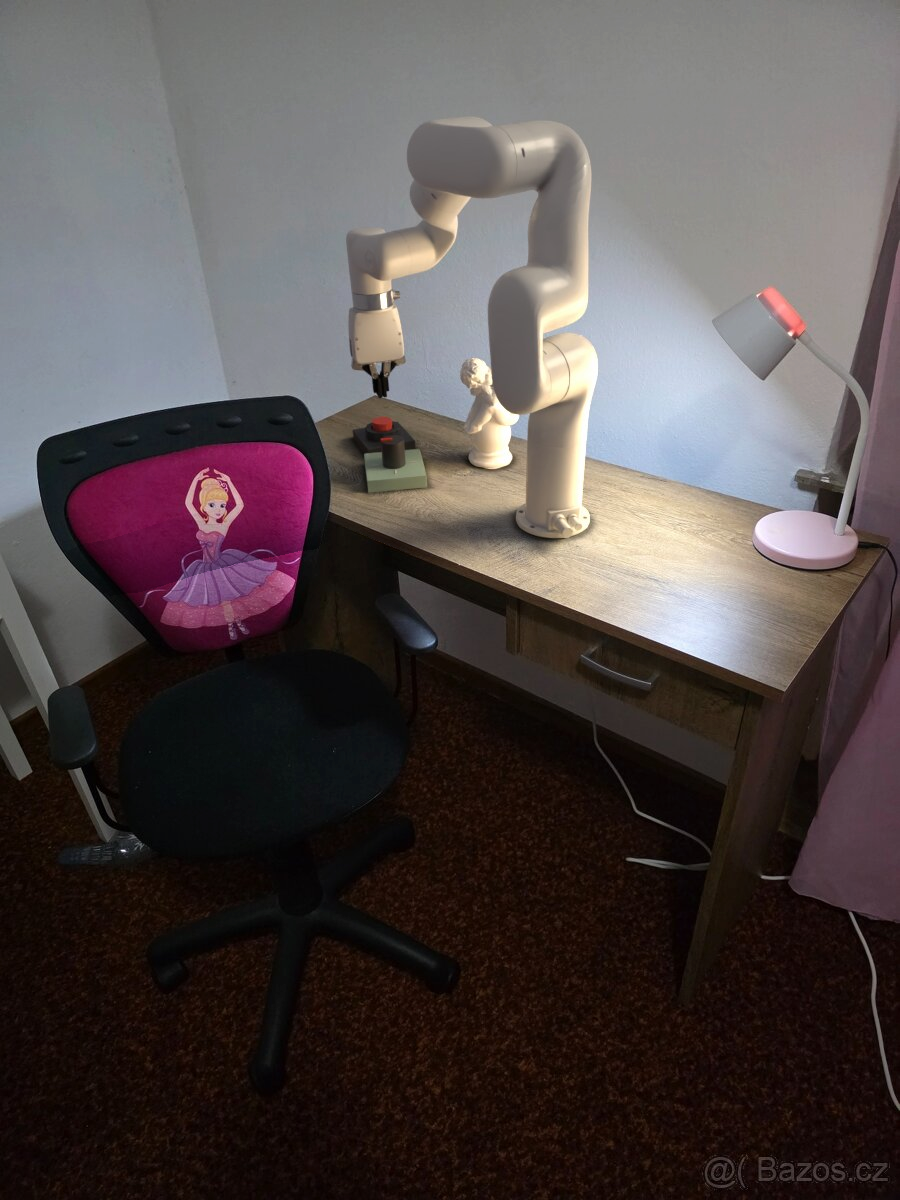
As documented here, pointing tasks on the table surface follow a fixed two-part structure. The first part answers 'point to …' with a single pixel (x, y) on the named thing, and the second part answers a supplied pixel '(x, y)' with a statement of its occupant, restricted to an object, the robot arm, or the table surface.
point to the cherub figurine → (486, 418)
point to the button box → (372, 439)
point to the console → (395, 473)
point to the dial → (393, 451)
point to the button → (382, 424)
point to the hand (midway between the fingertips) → (381, 395)
